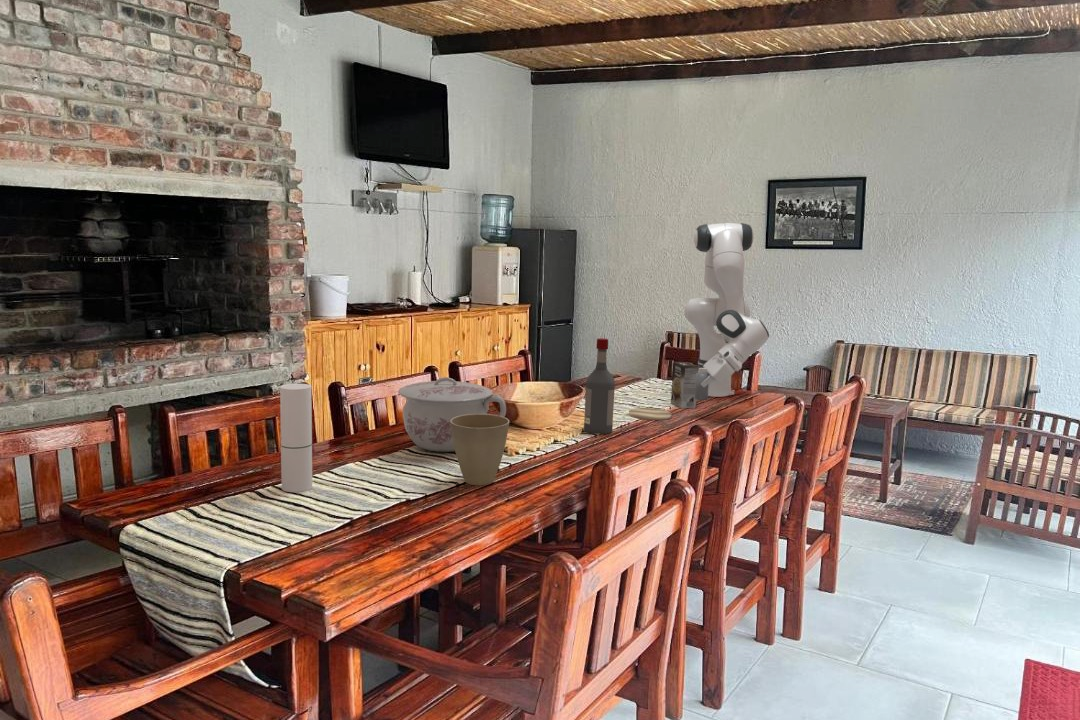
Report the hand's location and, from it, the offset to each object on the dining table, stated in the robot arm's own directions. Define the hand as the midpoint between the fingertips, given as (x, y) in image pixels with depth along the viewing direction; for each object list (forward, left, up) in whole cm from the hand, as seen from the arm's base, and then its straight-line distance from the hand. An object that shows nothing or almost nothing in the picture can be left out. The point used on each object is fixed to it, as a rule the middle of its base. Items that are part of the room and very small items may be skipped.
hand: (700, 383), depth 283 cm
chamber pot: (+52, -83, -12) cm, 99 cm away
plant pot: (+83, -70, -12) cm, 109 cm away
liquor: (+25, -37, -12) cm, 46 cm away
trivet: (0, -17, -12) cm, 21 cm away
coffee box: (-19, -3, -12) cm, 22 cm away
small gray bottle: (0, +1, -5) cm, 5 cm away
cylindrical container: (+94, -113, -12) cm, 147 cm away
